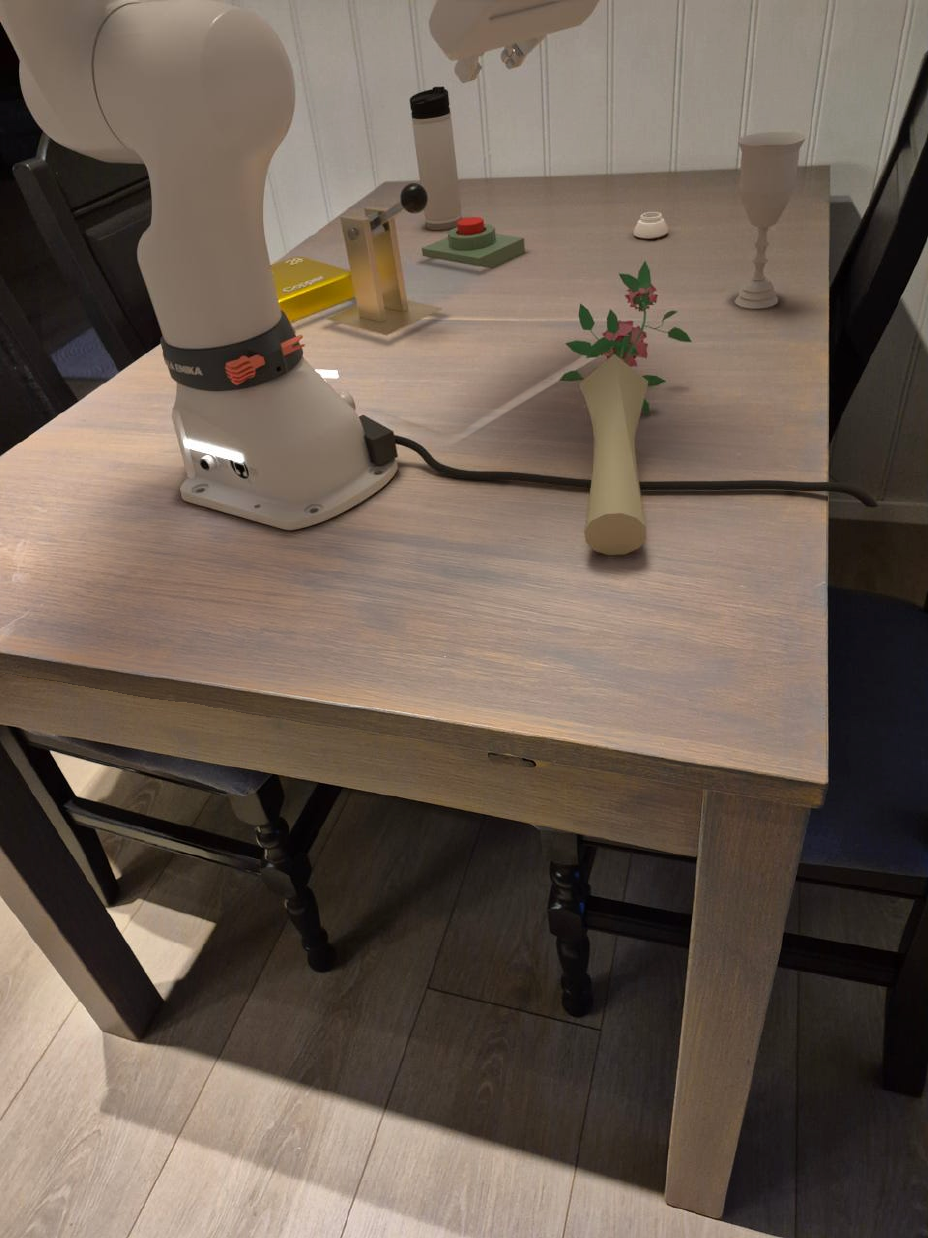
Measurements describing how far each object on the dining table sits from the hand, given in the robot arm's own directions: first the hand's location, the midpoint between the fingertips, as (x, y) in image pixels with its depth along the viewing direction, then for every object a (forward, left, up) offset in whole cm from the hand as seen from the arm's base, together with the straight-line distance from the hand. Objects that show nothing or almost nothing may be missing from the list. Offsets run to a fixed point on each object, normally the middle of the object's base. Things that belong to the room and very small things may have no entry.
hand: (486, 69), depth 87 cm
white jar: (+10, -44, -29) cm, 54 cm away
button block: (+29, -25, -29) cm, 48 cm away
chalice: (-17, -27, -29) cm, 43 cm away
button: (+29, -25, -26) cm, 46 cm away
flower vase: (-25, +13, -29) cm, 41 cm away
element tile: (+39, +3, -29) cm, 49 cm away
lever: (+17, 0, -16) cm, 24 cm away
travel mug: (+46, -36, -29) cm, 65 cm away
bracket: (+22, 0, -29) cm, 37 cm away
